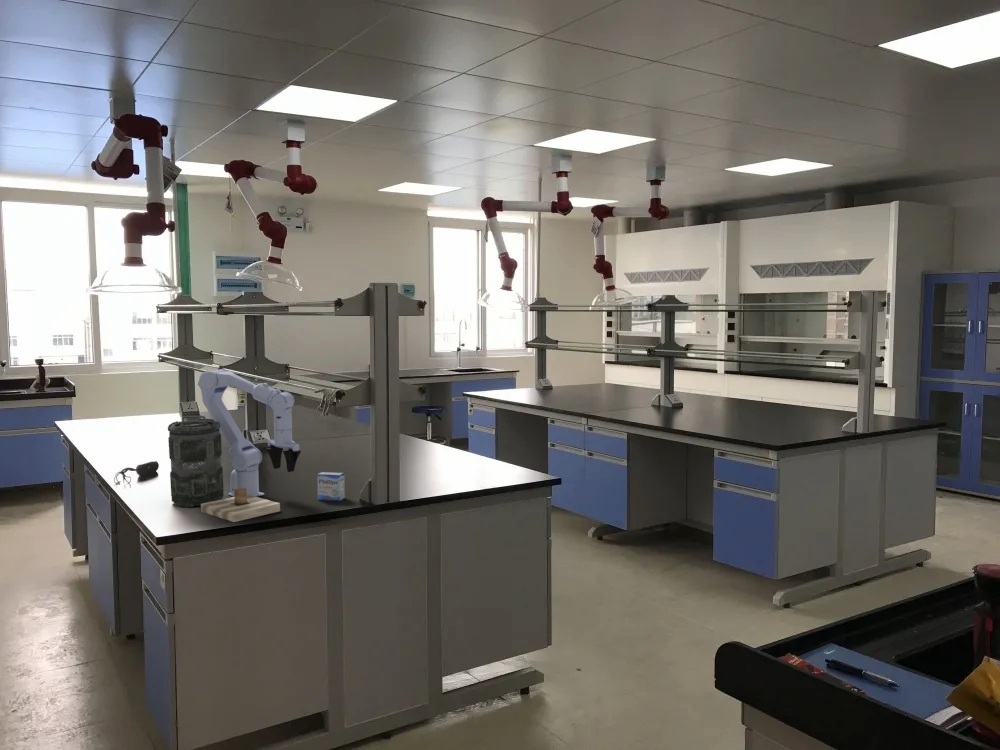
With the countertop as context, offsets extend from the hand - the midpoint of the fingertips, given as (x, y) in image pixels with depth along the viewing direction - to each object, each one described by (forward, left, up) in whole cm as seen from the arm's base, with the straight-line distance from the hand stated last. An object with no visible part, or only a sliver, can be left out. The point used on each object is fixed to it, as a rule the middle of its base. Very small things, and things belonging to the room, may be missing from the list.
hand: (283, 469), depth 257 cm
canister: (-17, -21, -9) cm, 29 cm away
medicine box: (+13, +9, -10) cm, 19 cm away
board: (+4, -19, -9) cm, 22 cm away
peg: (+4, -19, -9) cm, 21 cm away
